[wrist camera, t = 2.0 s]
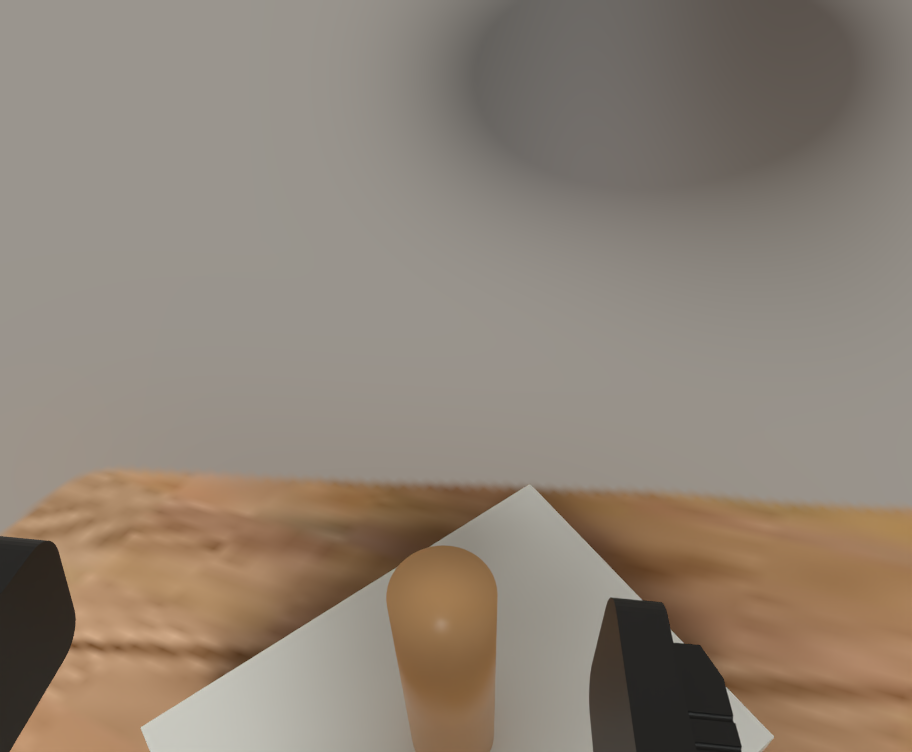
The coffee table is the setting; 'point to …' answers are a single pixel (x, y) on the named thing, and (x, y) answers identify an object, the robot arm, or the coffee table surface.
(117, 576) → the coffee table surface
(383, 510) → the coffee table surface
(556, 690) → the tub lid
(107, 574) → the coffee table surface
